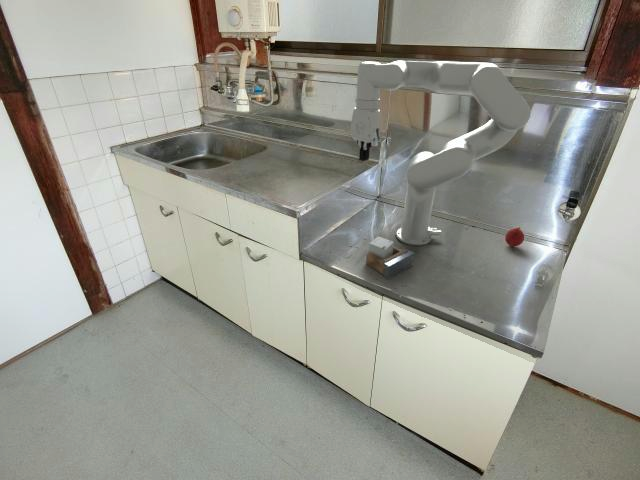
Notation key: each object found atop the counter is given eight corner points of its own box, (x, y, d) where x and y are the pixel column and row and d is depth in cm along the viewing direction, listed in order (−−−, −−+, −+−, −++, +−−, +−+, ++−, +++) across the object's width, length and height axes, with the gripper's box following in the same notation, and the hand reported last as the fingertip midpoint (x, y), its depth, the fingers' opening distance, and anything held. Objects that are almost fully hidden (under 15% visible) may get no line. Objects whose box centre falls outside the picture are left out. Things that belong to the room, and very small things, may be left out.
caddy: (365, 263, 118) (367, 250, 116) (387, 252, 124) (388, 240, 121) (384, 275, 113) (386, 261, 110) (406, 263, 118) (408, 250, 116)
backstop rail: (382, 276, 112) (384, 263, 110) (407, 263, 119) (409, 250, 116) (387, 279, 111) (389, 266, 108) (412, 265, 118) (414, 252, 115)
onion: (516, 252, 125) (523, 232, 120) (499, 246, 128) (505, 226, 124) (523, 247, 128) (530, 227, 124) (507, 240, 132) (513, 221, 127)
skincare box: (376, 254, 124) (377, 235, 120) (392, 260, 120) (394, 241, 117) (367, 262, 119) (368, 243, 116) (383, 268, 116) (385, 249, 112)
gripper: (343, 102, 120) (341, 156, 129) (376, 109, 110) (372, 167, 119) (359, 100, 124) (356, 152, 133) (393, 106, 114) (387, 163, 123)
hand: (363, 159), depth 126 cm, fingers closed
